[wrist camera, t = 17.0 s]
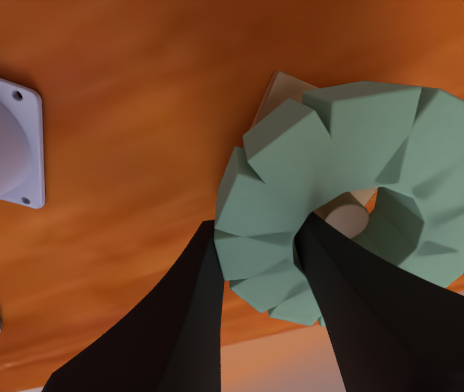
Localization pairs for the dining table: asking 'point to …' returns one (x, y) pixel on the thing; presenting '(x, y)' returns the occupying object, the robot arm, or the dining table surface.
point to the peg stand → (346, 204)
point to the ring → (343, 188)
